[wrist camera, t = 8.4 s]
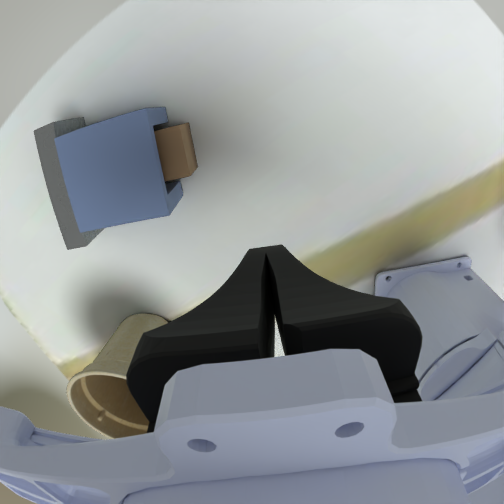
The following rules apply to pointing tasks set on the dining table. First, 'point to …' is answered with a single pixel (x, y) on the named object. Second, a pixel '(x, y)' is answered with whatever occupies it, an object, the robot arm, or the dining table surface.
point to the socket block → (116, 171)
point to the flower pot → (112, 383)
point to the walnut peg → (176, 151)
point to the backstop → (61, 181)
